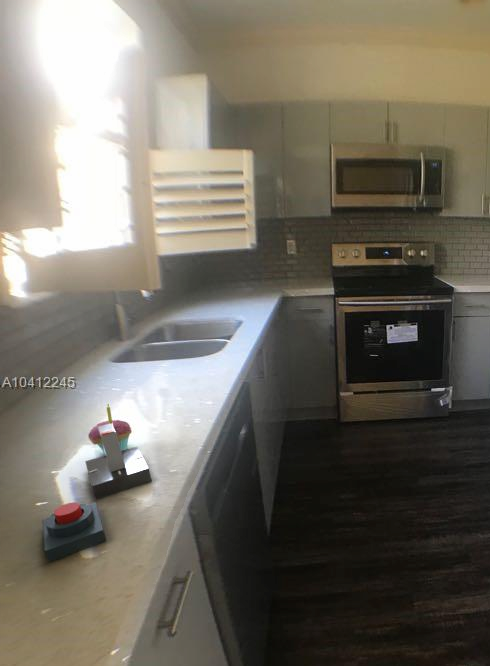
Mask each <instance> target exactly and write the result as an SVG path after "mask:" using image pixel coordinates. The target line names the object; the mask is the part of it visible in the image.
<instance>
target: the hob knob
mask: <svg viewBox="0 0 490 666" xmlns="http://www.w3.org/2000/svg"><path fill="white" fill-rule="evenodd" d="M98 430H99V434H100V437H101V441H102V444H103V448H104V451H105V454H104V456H106V458H107V462H108V464H109V467H110V470H111V472H113V471H116V470H119V469H122V468H125V463H124V460H123V456H122V452H121V449H120V445H119V441H118V438H117V434H116V431H115V429H114V427H113V424H112V423H110V424H107V425H103V426H99V427H98Z"/></svg>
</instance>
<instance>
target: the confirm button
mask: <svg viewBox="0 0 490 666" xmlns="http://www.w3.org/2000/svg"><path fill="white" fill-rule="evenodd" d="M80 504H81V503H79V502H73V501H72V502H68V503H64V504H62V505H60V506H59V507H57V508H56V509H55V510H54V512H53V514H54V515H55V518H56V520H57V523H59V524H66V523H69V522H72V521H75V520H76V519H78V518H79V517H81V516H82V510H81V507H80Z"/></svg>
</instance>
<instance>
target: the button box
mask: <svg viewBox="0 0 490 666" xmlns="http://www.w3.org/2000/svg"><path fill="white" fill-rule="evenodd" d="M79 504H80V507H81V510H82V516H81V517H79V518H78V519H76V520H75V521H72V522H69V523H66V524H59V523H57V520H56V518H55V515H54V513H52V514H51V515H50V516H49V517H47V518H44V519H42V531H43V544H44V554H45V556H46V558H47V561H48V563H52V562H53V561H56V560H59V559H62V558H64V557H67V556H70V555H73V554H74V553H78V552H80V551H83V550H85V549H88V548H91V547H93V546H96V545H99V544H101V543H104V542H106V541H107V537H106V534H105V528H104V525H103V522H102V518H101V515H100V511H99V507H98V504H97V502H96V501H95V502H91V503H89V504H86V503H79Z"/></svg>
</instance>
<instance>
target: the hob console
mask: <svg viewBox="0 0 490 666" xmlns="http://www.w3.org/2000/svg"><path fill="white" fill-rule="evenodd" d="M121 452H122V456H123V460H124V463H125V468H122V469H119V470H116V471H113V472H111V470H110V467H109V464H108V462H107V458H106V455H102V456H99V457H95V458H92V459H88V460H86V461H85V467H86V470H87V473H88V477H89V482H90V485H91V488H92V489H91V490H92V492H93V496H94V498H95V500H98V499H101V498H105V497H107V496H111V495H113V494H117V493H119V492H123V491H126V490H129V489H131V488H134V487H138V486H141V485H144V484H148V483H149V482H150V483H151V482H152V481H153V479H152V475H151V471H150V468H149V466H148V464H147V462H146V460H145V458H144V455H143V454H142V451H140V448H139V446H134V447H131V448H127V449H126V450H123V451H121Z"/></svg>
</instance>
